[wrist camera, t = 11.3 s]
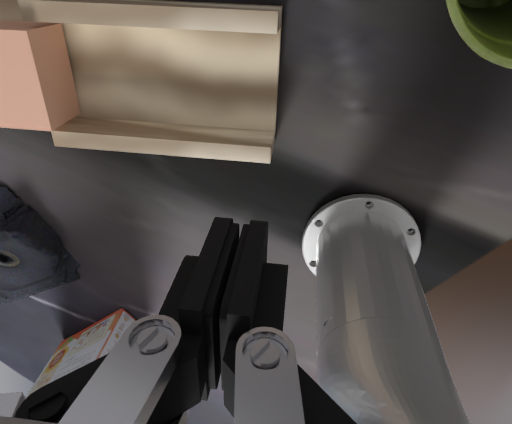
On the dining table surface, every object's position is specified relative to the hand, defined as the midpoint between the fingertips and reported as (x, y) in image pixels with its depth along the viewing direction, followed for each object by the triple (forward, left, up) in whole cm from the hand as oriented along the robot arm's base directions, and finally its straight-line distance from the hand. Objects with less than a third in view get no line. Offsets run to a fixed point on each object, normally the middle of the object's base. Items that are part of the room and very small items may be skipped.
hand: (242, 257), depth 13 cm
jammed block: (-1, +23, -26) cm, 34 cm away
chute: (-1, +13, -27) cm, 30 cm away
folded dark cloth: (-26, +37, -28) cm, 53 cm away
